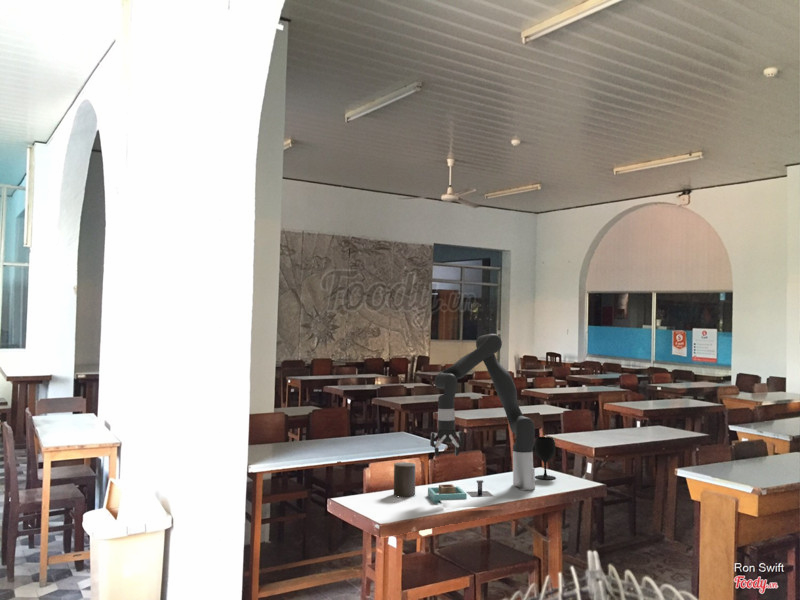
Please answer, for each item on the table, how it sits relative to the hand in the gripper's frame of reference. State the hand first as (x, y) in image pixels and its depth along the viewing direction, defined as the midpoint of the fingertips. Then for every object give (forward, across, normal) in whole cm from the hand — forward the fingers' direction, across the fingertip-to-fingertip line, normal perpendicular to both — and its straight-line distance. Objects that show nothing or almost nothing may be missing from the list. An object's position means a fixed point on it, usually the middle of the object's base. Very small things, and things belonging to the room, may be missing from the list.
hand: (446, 456), depth 280 cm
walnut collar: (+17, 0, 0) cm, 17 cm away
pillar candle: (+18, +17, -10) cm, 27 cm away
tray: (+18, 0, 0) cm, 18 cm away
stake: (+18, -15, 0) cm, 24 cm away
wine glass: (+19, -59, -34) cm, 71 cm away
